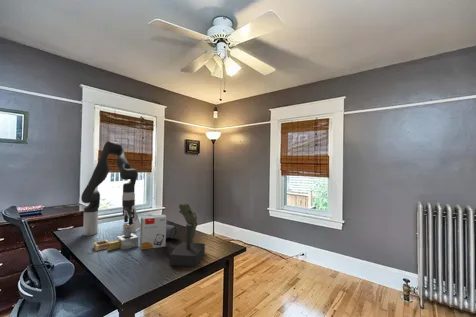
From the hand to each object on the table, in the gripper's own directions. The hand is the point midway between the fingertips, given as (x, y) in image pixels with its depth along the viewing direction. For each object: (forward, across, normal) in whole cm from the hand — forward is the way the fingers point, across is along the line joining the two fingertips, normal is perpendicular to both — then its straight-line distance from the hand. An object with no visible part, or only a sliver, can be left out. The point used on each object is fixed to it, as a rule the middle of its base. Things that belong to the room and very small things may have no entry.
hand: (128, 223), depth 151 cm
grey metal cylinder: (+15, 0, 0) cm, 15 cm away
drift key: (+15, 0, +7) cm, 17 cm away
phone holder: (+15, +35, -16) cm, 41 cm away
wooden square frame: (+15, +8, +13) cm, 21 cm away
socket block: (+15, 0, 0) cm, 15 cm away
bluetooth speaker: (+15, +1, -24) cm, 28 cm away
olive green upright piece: (+15, -29, -28) cm, 43 cm away
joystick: (+16, -44, -18) cm, 50 cm away
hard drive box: (+15, -12, -12) cm, 23 cm away
